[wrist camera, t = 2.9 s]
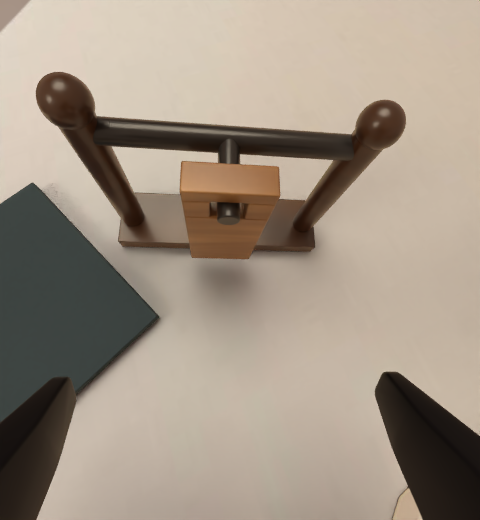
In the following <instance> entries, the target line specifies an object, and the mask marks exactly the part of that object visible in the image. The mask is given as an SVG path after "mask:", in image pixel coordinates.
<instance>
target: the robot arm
mask: <svg viewBox="0 0 480 520" xmlns="http://www.w3.org/2000/svg"><path fill="white" fill-rule="evenodd" d="M375 397H376V400H377V403H378V406H379V410H380V413H381V416H382V419H383V422H384V425H385V428H386V431H387V434H388V437H389V440H390V443H391V446H392V449H393V451H394V454H395V456H396V459H397V461H398V464H399V466H400V468H401V471H402V473H403V475H404V478H405V480H406V482H407V485H408V487H409V489H410V492H411V494H412V496H413V498H414V501H415V503H416V505H417V508H418V510H419V512H420V515H421V517H422V519H423V520H480V436H479V435H478V434H476V433H475V432H474V431H472V430H471V429H470V428H469V427H467V426H466V425H465V424H464V423H462V422H461V421H460V420H458V419H457V418H456V417H455V416H453V415H452V414H451V413H450V412H448V411H447V410H446V409H444V408H443V407H442V406H441V405H439V404H438V403H437V402H436V401H434V400H433V399H432V398H430V397H429V396H428V395H427V394H425V393H424V392H423V391H422V390H420V389H419V388H418V387H416V386H415V385H414V384H413V383H411V382H410V381H409V380H407V379H406V378H405V377H404V376H402V375H401V374H400V373H398V372H384V373H383V374H382V375H381V377H380V379H379V382H378V384H377V386H376V389H375ZM75 404H76V394H75V390H74V387H73V384H72V380H71V378H69V377H53V378H52V379H50V380H49V381H48V382H46V383H45V384H44V385H43V386H42V387H41V388H40V389H38V390H37V391H36V392H35V393H34V394H33V395H31V396H30V397H29V398H28V399H27V400H26V401H24V402H23V403H22V404H21V405H20V406H19V407H18V408H16V409H15V410H14V411H13V412H12V413H11V414H9V415H8V416H7V417H6V418H5V419H4V420H3V421H1V422H0V520H36V519H37V516H38V514H39V511H40V509H41V506H42V504H43V501H44V499H45V496H46V494H47V491H48V489H49V486H50V484H51V481H52V479H53V476H54V474H55V471H56V468H57V466H58V463H59V459H60V456H61V453H62V450H63V446H64V443H65V439H66V436H67V432H68V429H69V425H70V422H71V418H72V415H73V412H74V408H75Z"/></svg>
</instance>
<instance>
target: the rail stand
mask: <svg viewBox="0 0 480 520" xmlns="http://www.w3.org/2000/svg"><path fill="white" fill-rule="evenodd" d="M36 100H37V104H38V106H39V108H40V110H41V112H42V113H43V115H44V116H45V117H46V118H47V119H48V120H49V121H50V122H51V123H53V124H55V125H56V126H58V127H59V129H60V130H61V132H62V133H63V134H64V136H65V137H66V139H67V140H68V142H69V143H70V145H71V146H72V148H73V149H74V150H75V152H76V153H77V155H78V156H79V158H80V159H81V161H82V162H83V164H84V165H85V166H86V168H87V169H88V171H89V172H90V174H91V175H92V177H93V178H94V180H95V181H96V182H97V184H98V185H99V187H100V188H101V190H102V191H103V193H104V194H105V195H106V197H107V198H108V200H109V201H110V203H111V204H112V206H113V207H114V209H115V210H116V211H117V213H118V214H119V216H120V217H121V221H120V230H119V239H118V242H119V243H120V244H121V245H122V246H127V247H163V248H190V245H189V240H188V234H187V229H186V223H185V218H184V212H183V206H182V201H181V196H180V195H176V194H154V193H134V192H133V190H132V188H131V186H130V184H129V181H128V179H127V177H126V175H125V173H124V171H123V169H122V167H121V165H120V163H119V161H118V159H117V157H116V155H115V153H114V151H113V149H112V146H116V147H132V148H148V149H164V150H181V151H197V152H213V153H218V163H224V164H240V154H245V155H262V156H278V157H294V158H310V159H327V160H333V162H332V163H331V165H330V166H329V168H328V169H327V171H326V172H325V173H324V175H323V176H322V178H321V179H320V181H319V182H318V184H317V185H316V186H315V188H314V189H313V191H312V192H311V194H310V195H309V197H308V198H307V199H306V201H305V200H284V199H278V201H277V203H276V205H275V207H274V209H273V211H272V213H271V215H270V217H269V219H268V221H267V223H266V225H265V227H264V229H263V231H262V233H261V235H260V237H259V239H258V241H257V243H256V245H255V247H254V249H253V250H270V251H305V252H310V251H311V250H312V249H314V248H315V240H314V227H313V226H314V225H315V224H316V223H317V222H318V220H319V219H320V218H321V217H322V216H323V215H324V214H325V213H326V212H327V211H328V209H329V208H330V207H331V206H332V205H333V204H334V203H335V202H336V201H337V200H338V198H339V197H340V196H341V195H342V194H343V193H344V192H345V191H346V190H347V189H348V187H349V186H350V185H351V184H352V183H353V182H354V181H355V180H356V179H357V178H358V176H359V175H360V174H361V173H362V172H363V171H364V170H365V169H366V168H367V167H368V165H369V164H370V163H371V162H372V161H373V160H374V159H375V158H376V157H377V156H378V154H379V153H380V152H381V151H382V150H383V149H385V148H387V147H390V146H391V145H393V144H394V143H395V142H396V141H397V140H398V139H399V138H400V137H401V135H402V133H403V131H404V129H405V125H406V116H405V112H404V110H403V109H402V107H401V106H400V105H399V104H397V103H396V102H394V101H391V100H379V101H376V102H373V103H372V104H370V105H368V106H367V107H366V108H365V109H364V110H363V111H362V112H361V114H360V115H359V117H358V119H357V122H356V127H355V130H354V132H353V133H352V134H338V133H324V132H310V131H296V130H282V129H268V128H254V127H240V126H226V125H212V124H198V123H184V122H170V121H156V120H142V119H128V118H114V117H100V116H96V114H95V102H94V99H93V96H92V94H91V92H90V90H89V89H88V87H87V86H86V85H85V84H84V83H83V82H82V81H81V80H79V79H78V78H77V77H75V76H73V75H71V74H68V73H64V72H53V73H50V74H47V75H46V76H44V77H43V78H42V79H41V80H40V81H39V83H38V85H37V89H36ZM217 221H218V222H219V223H220V224H223V225H235V224H237V223H239V222H240V203H228V202H217Z"/></svg>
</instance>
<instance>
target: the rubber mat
mask: <svg viewBox="0 0 480 520" xmlns="http://www.w3.org/2000/svg"><path fill="white" fill-rule="evenodd" d="M158 318H159V316H158V315H157V314H156V313H155V311H154V310H153V309H152V308H151V307H150V306H149V305H148V304H147V303H146V302H145V301H144V300H143V299H142V298H141V296H140V295H139V294H138V293H137V292H136V291H135V290H134V289H133V288H132V287H131V286H130V285H129V284H128V283H127V282H126V280H125V279H124V278H123V277H122V276H121V275H120V274H119V273H118V272H117V271H116V270H115V269H114V268H113V267H112V266H111V264H110V263H109V262H108V261H107V260H106V259H105V258H104V257H103V256H102V255H101V254H100V253H99V252H98V251H97V249H96V248H95V247H94V246H93V245H92V244H91V243H90V242H89V241H88V240H87V239H86V238H85V237H84V236H83V235H82V233H81V232H80V231H79V230H78V229H77V228H76V227H75V226H74V225H73V224H72V223H71V222H70V221H69V220H68V219H67V217H66V216H65V215H64V214H63V213H62V212H61V211H60V210H59V209H58V208H57V207H56V206H55V205H54V204H53V203H52V201H51V200H50V199H49V198H48V197H47V196H46V195H45V194H44V193H43V192H42V191H41V190H40V189H39V188H38V187H37V186H36V185H35V184H34V183H31V184H29V185H28V186H26V187H25V188H23V189H22V190H20V191H19V192H17V193H16V194H14V195H13V196H11V197H10V198H8V199H7V200H5V201H4V202H2V203H1V204H0V422H1V421H3V420H4V419H5V418H6V417H7V416H8V415H9V414H11V413H12V412H13V411H14V410H15V409H16V408H18V407H19V406H20V405H21V404H22V403H23V402H24V401H26V400H27V399H28V398H29V397H30V396H31V395H33V394H34V393H35V392H36V391H37V390H38V389H40V388H41V387H42V386H43V385H44V384H45V383H46V382H48V381H49V380H50V379H52V378H53V377H69V378H71V380H72V384H73V387H74V390H75V394H77V393H78V392H80V391H81V390H82V389H83V388H84V387H85V386H86V385H87V384H88V383H89V382H90V381H91V380H93V379H94V378H95V377H96V376H97V375H98V374H99V373H100V372H101V371H102V370H103V369H104V368H105V367H107V366H108V365H109V364H110V363H111V362H112V361H113V360H114V359H115V358H116V357H117V356H118V355H119V354H121V353H122V352H123V351H124V350H125V349H126V348H127V347H128V346H129V345H130V344H131V343H132V342H134V341H135V340H136V339H137V338H138V337H139V336H140V335H141V334H142V333H143V332H144V331H145V330H146V329H148V328H149V327H150V326H151V325H152V324H153V323H154V322H155V321H156V320H157V319H158Z"/></svg>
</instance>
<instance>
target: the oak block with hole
mask: <svg viewBox="0 0 480 520" xmlns="http://www.w3.org/2000/svg"><path fill="white" fill-rule="evenodd" d="M180 196H181V201H182V206H183V212H184V218H185V223H186V229H187V234H188V240H189V245H190V251H191V256H192V258H223V259H249V257H250V255H251V253H252V251H253V249H254V247H255V245H256V243H257V241H258V239H259V237H260V235H261V233H262V231H263V229H264V227H265V225H266V223H267V221H268V219H269V217H270V215H271V213H272V211H273V209H274V207H275V205H276V203H277V201H278V199H279V197H280V179H279V167H276V166H258V165H241V164H224V163H207V162H190V161H182V162H181V175H180ZM217 202H228V203H240V222H239V223H237V224H235V225H223V224H220V223H219V222H218V221H217Z"/></svg>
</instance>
